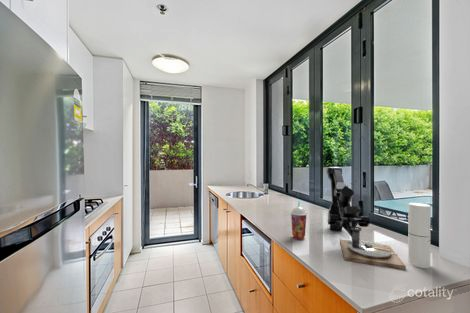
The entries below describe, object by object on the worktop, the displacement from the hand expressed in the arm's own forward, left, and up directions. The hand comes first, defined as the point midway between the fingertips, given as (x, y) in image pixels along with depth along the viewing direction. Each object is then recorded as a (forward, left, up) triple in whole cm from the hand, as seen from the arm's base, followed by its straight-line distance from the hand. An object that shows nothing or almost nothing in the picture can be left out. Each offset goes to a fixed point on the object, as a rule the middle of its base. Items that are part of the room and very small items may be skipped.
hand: (352, 237), depth 104 cm
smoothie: (-25, +10, -7) cm, 28 cm away
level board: (+7, +1, -7) cm, 10 cm away
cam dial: (+7, +1, -5) cm, 9 cm away
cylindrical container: (+25, -2, -7) cm, 26 cm away
